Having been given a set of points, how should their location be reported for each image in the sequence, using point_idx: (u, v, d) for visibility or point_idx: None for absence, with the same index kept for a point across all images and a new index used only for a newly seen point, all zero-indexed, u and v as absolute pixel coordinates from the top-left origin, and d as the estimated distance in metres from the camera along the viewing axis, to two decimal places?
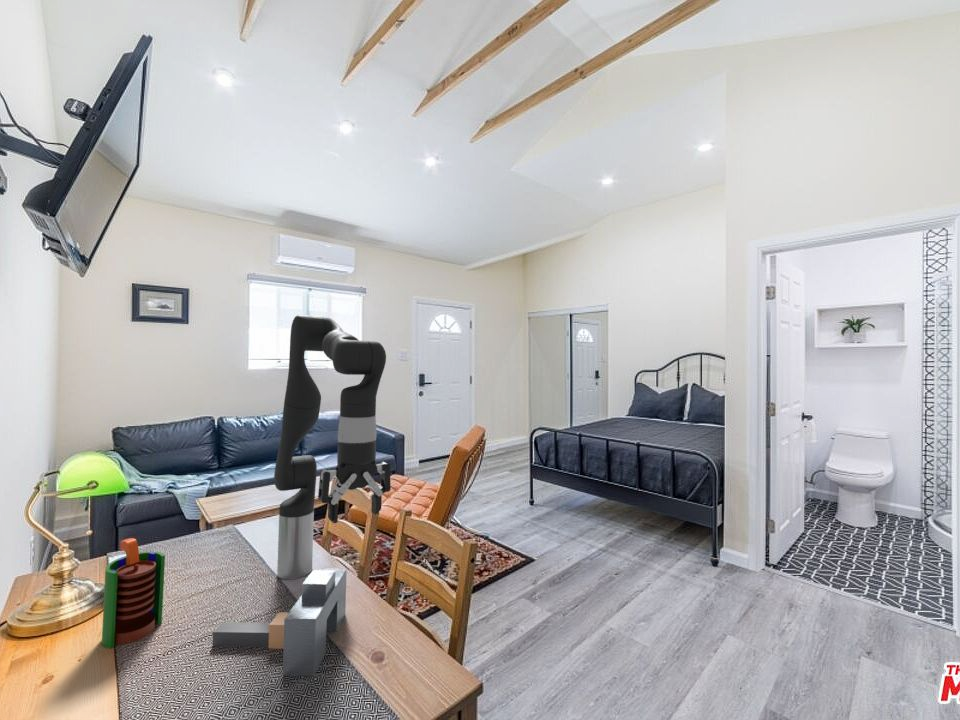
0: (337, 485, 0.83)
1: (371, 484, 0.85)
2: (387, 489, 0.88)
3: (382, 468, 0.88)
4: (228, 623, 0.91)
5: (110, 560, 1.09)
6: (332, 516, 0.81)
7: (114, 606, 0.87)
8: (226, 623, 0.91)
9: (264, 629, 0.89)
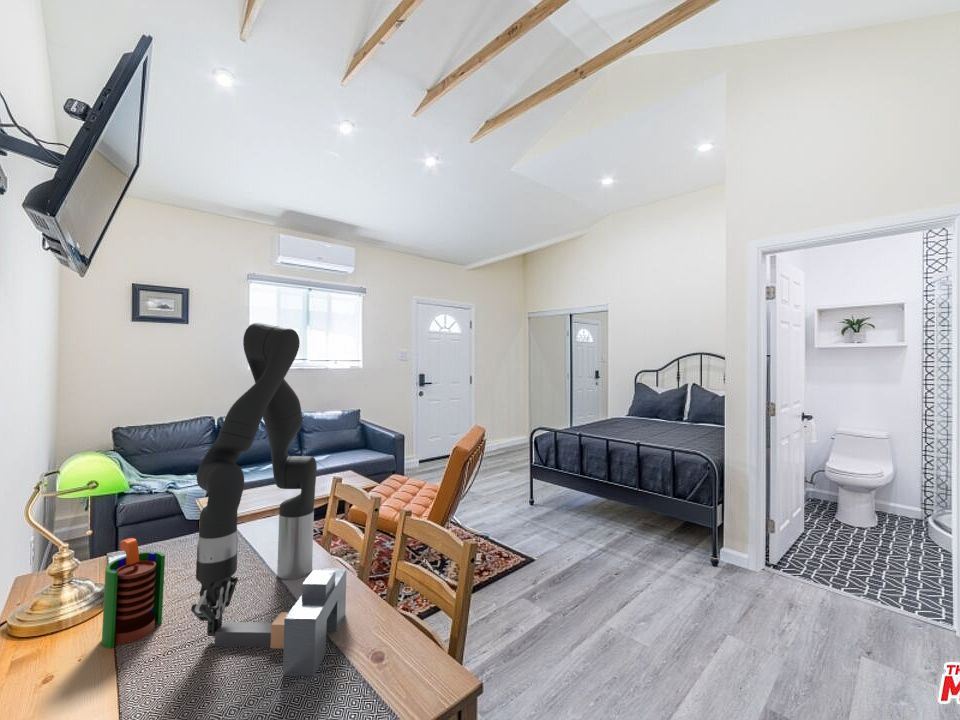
0: None
1: None
2: None
3: None
4: (230, 623, 0.91)
5: (110, 560, 1.09)
6: None
7: (114, 606, 0.87)
8: (228, 623, 0.91)
9: (266, 629, 0.89)
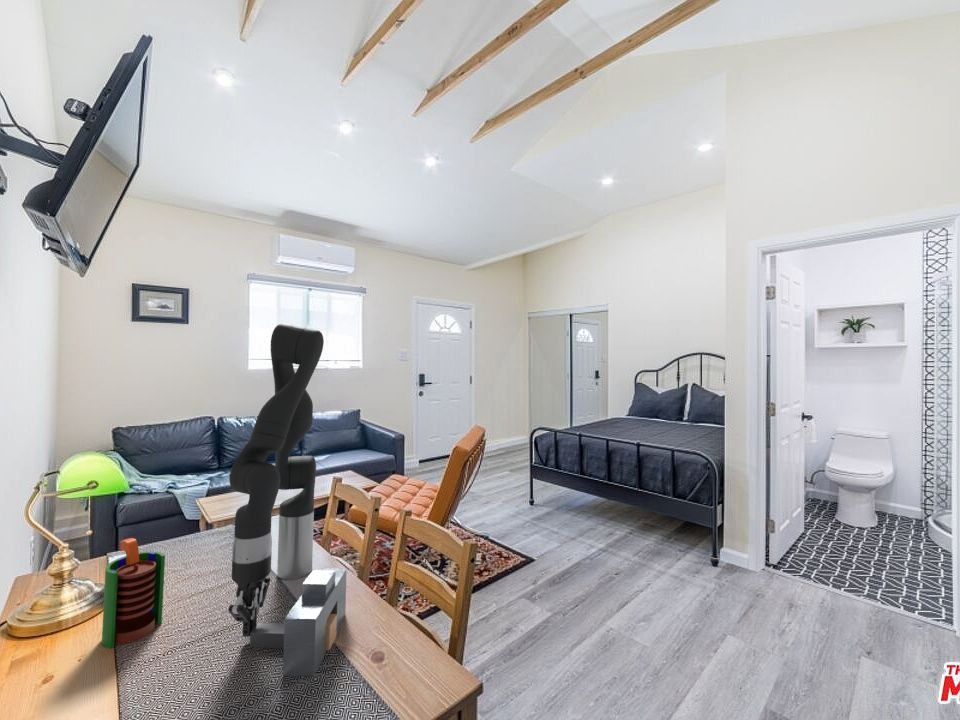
0: None
1: None
2: None
3: None
4: (264, 624, 0.91)
5: (110, 560, 1.09)
6: None
7: (114, 606, 0.87)
8: (262, 624, 0.91)
9: None
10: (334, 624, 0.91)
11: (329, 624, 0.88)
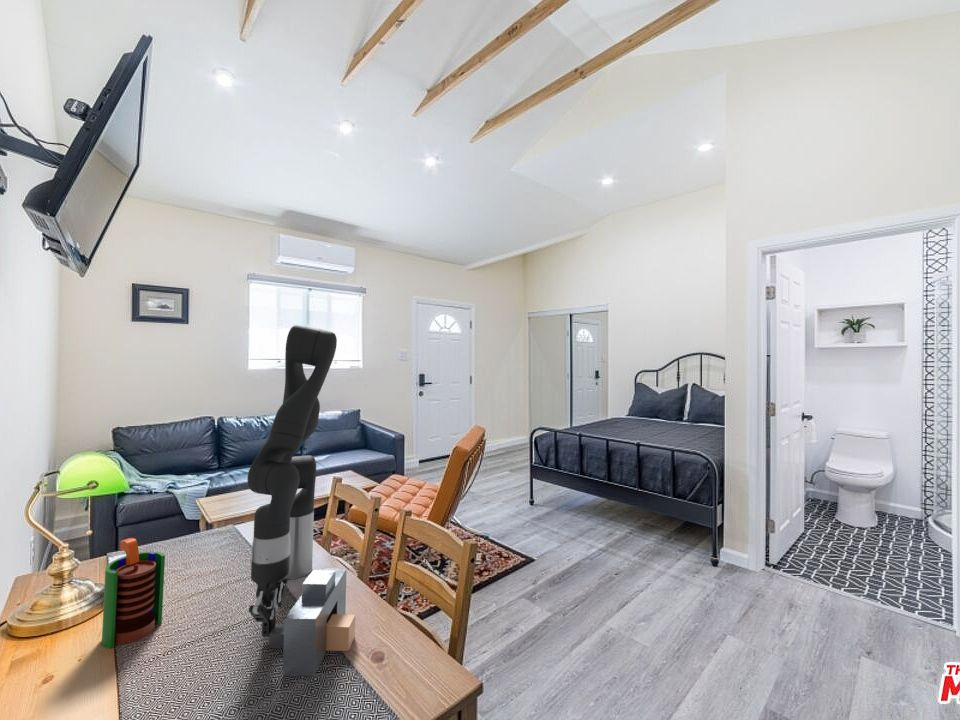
0: None
1: None
2: None
3: None
4: (283, 625, 0.91)
5: (110, 560, 1.09)
6: None
7: (114, 606, 0.87)
8: (281, 624, 0.91)
9: None
10: (353, 625, 0.91)
11: (348, 625, 0.88)
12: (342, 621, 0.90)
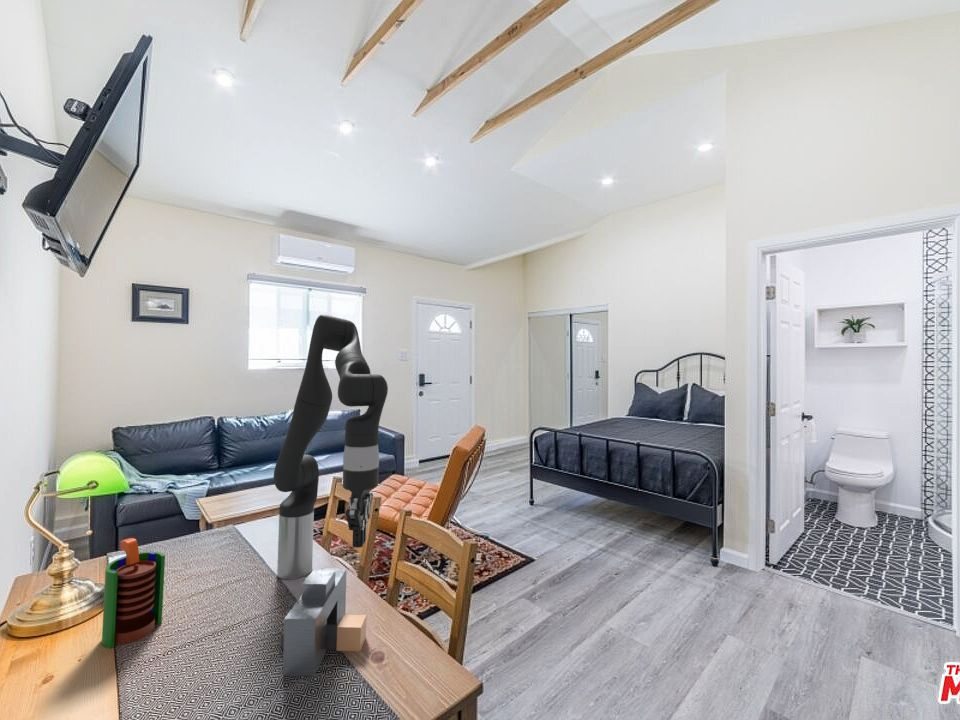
0: None
1: None
2: None
3: None
4: None
5: (110, 560, 1.09)
6: None
7: (114, 606, 0.87)
8: None
9: (331, 631, 0.89)
10: (364, 625, 0.91)
11: (360, 625, 0.88)
12: (353, 621, 0.90)
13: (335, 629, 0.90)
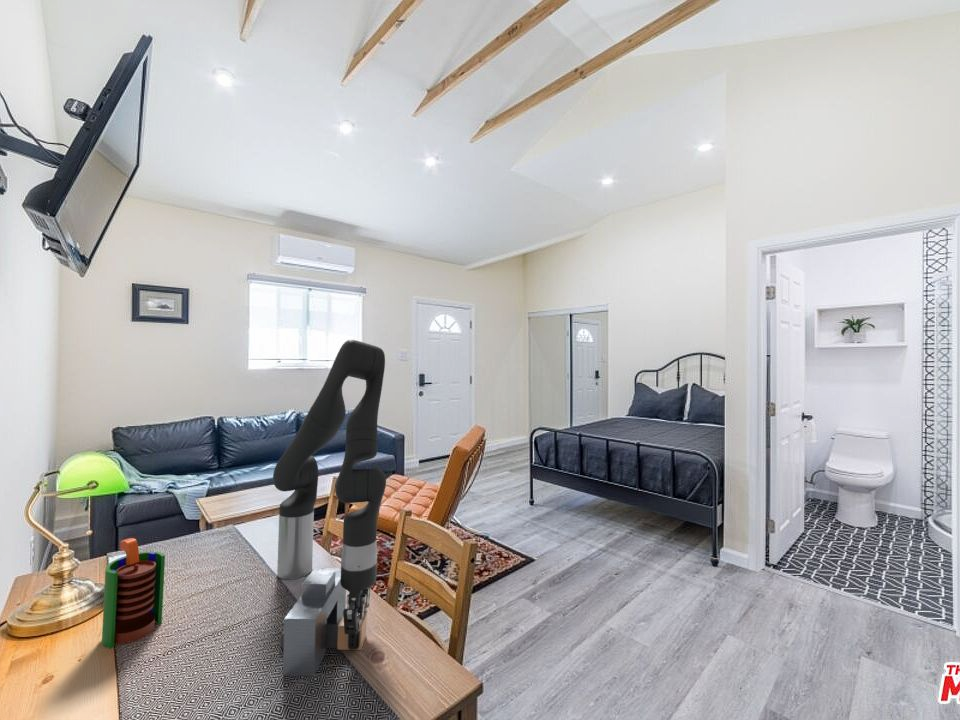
0: None
1: None
2: None
3: None
4: None
5: (110, 560, 1.09)
6: None
7: (114, 606, 0.87)
8: None
9: (332, 630, 0.90)
10: (364, 623, 0.91)
11: (361, 623, 0.89)
12: None
13: (335, 628, 0.90)
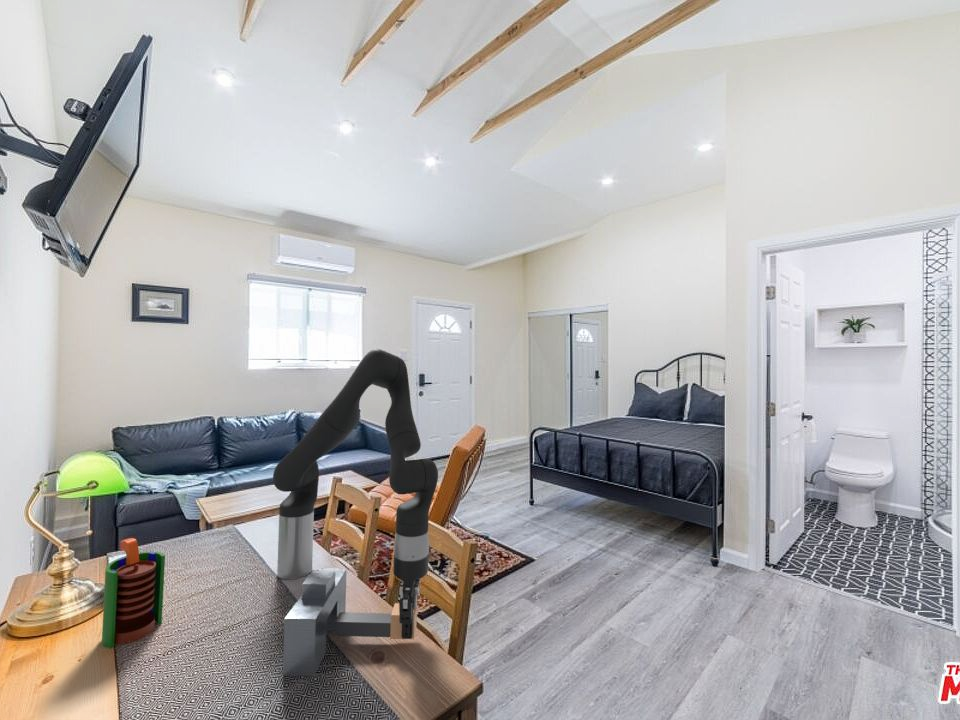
0: None
1: None
2: None
3: None
4: (346, 613, 0.92)
5: (110, 560, 1.09)
6: None
7: (114, 606, 0.87)
8: (344, 613, 0.92)
9: (384, 619, 0.90)
10: (416, 614, 0.91)
11: None
12: None
13: (387, 617, 0.91)
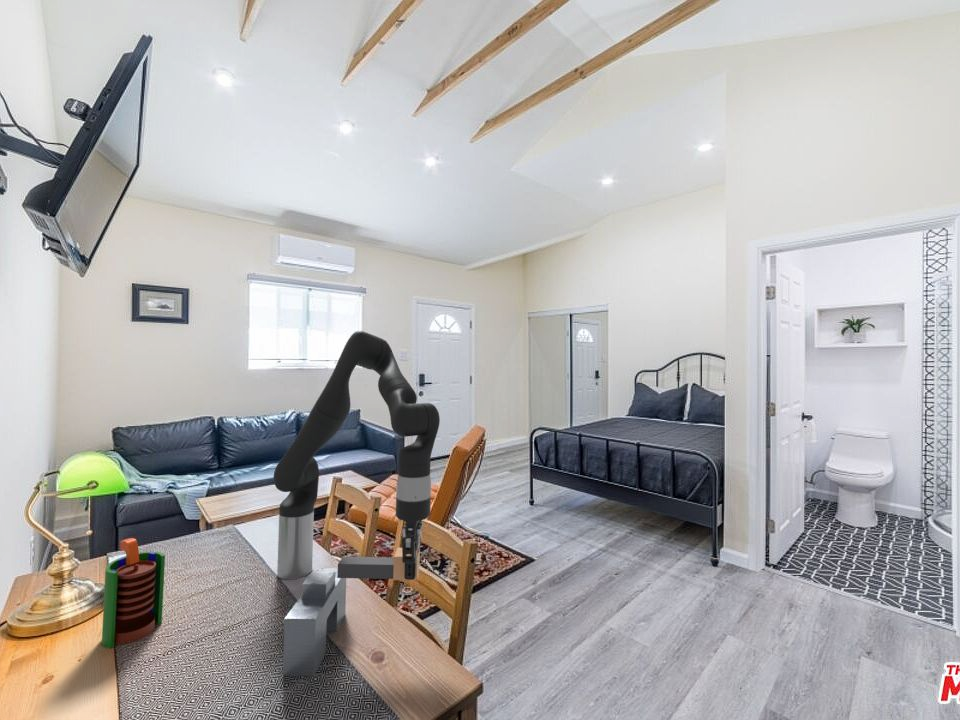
0: None
1: None
2: None
3: None
4: (349, 557, 0.92)
5: (110, 560, 1.09)
6: None
7: (114, 606, 0.87)
8: (347, 557, 0.92)
9: (387, 562, 0.90)
10: (418, 557, 0.92)
11: (416, 555, 0.89)
12: None
13: (390, 560, 0.91)
